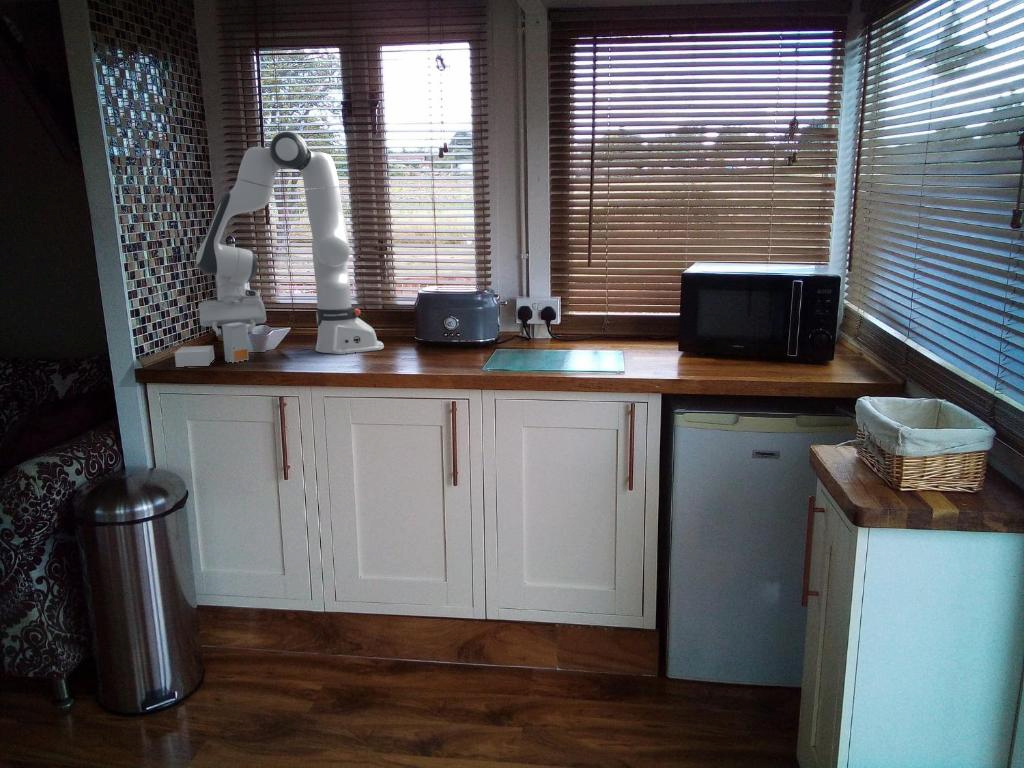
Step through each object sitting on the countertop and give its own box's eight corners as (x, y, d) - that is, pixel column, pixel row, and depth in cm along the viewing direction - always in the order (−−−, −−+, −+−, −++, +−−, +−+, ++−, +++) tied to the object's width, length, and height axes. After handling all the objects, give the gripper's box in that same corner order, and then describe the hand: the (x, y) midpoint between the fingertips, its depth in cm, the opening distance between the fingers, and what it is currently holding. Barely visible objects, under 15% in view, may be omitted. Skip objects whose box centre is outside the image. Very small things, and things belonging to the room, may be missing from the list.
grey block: (214, 360, 266) (213, 345, 264) (208, 367, 256) (207, 351, 255) (183, 362, 264) (181, 346, 263) (176, 368, 255) (174, 352, 254)
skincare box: (233, 363, 260) (229, 325, 257) (225, 362, 262) (221, 324, 259) (249, 360, 264) (246, 323, 261) (241, 358, 267) (238, 321, 264)
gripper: (196, 294, 263) (198, 330, 257) (264, 291, 269) (267, 326, 262) (199, 307, 269) (200, 342, 262) (264, 303, 274) (268, 337, 268)
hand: (234, 334), depth 262 cm, fingers open, 8 cm apart
